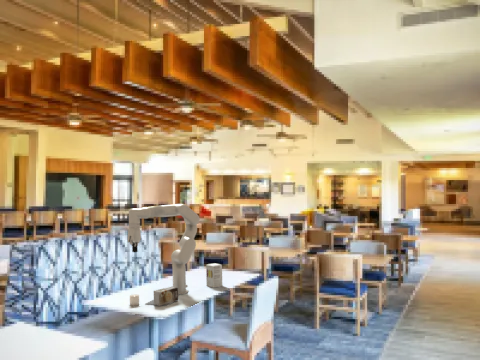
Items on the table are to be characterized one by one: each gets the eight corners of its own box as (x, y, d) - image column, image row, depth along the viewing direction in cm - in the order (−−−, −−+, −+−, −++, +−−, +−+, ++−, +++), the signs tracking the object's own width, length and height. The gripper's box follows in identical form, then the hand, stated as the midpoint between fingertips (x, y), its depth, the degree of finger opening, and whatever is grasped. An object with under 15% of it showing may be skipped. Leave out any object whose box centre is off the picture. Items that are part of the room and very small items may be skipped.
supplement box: (206, 285, 322) (205, 264, 323) (215, 283, 329) (214, 262, 329) (213, 287, 315) (213, 265, 316) (222, 285, 321) (222, 264, 322)
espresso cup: (133, 303, 277) (133, 294, 277) (140, 303, 275) (140, 294, 275) (128, 305, 271) (127, 296, 272) (135, 306, 269) (135, 296, 270)
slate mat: (156, 298, 287) (156, 298, 287) (177, 300, 282) (177, 299, 282) (145, 304, 273) (145, 303, 273) (166, 305, 268) (166, 305, 268)
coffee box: (159, 292, 267) (178, 287, 279) (153, 290, 271) (172, 285, 283) (159, 306, 267) (178, 300, 279) (153, 304, 271) (172, 299, 283)
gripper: (135, 225, 296) (136, 250, 296) (123, 226, 282) (124, 253, 282) (144, 225, 294) (145, 250, 294) (133, 226, 280) (133, 253, 279)
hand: (134, 252), depth 288 cm, fingers closed
